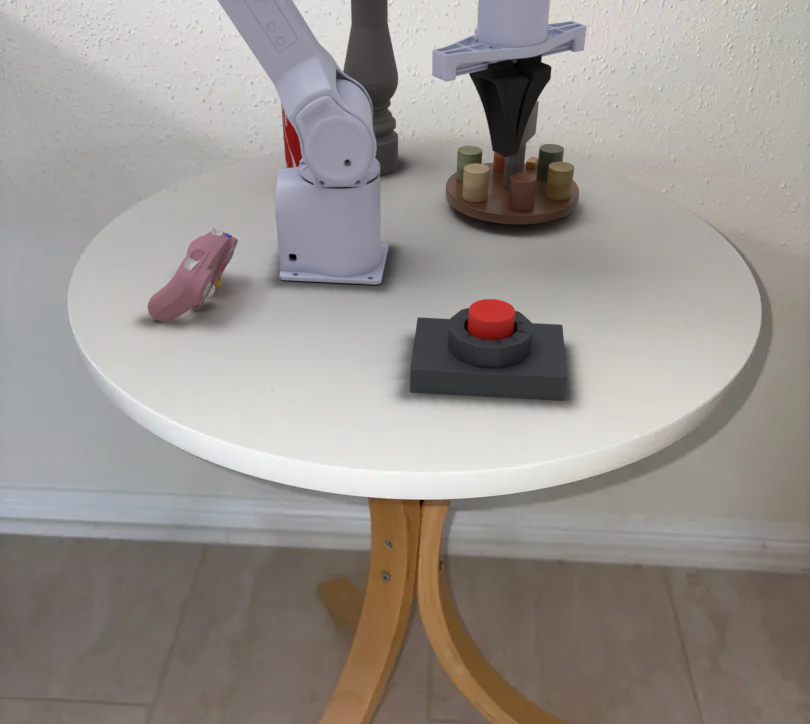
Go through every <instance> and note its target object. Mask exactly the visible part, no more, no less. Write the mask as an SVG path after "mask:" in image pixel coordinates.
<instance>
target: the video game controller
mask: <svg viewBox="0 0 810 724" xmlns="http://www.w3.org/2000/svg"><path fill="white" fill-rule="evenodd" d="M238 241H239V240H238V238H236V237H235V236H232V235H231V234H229V233H228V232H225V231H218V230H216V229H215V227H213V228H212V229H211V231H208V232H207V233H206V234H203V235H202V236H198V237H197V238H195V239H194V240H192V241H191V242H190V243H189V245H188V248H187V251H186V255H185V257H184V259H183V260H182V261H181V263H180V264H179V266H178V268H177V270H176V272H175V274H174V276H173V277H171V279H170V280H169V281H168V283H166V285H164V286H163V287H162V288H160V289H159V290H158V291H156V292H155V293H154V294H153V295H152V296H151V297H150V298H149V301H148V303H147V312H148V314H149V316H150V317H151V318H152V319H154V320H155V321H160V322H166V321H173V320H175V319H177V318H180V317H181V316H183V315H184V314H186V313H187V312H188V311H189V310H191V309H193V310H194V311H196V312H199V311H200V309H201V307H202V306H203V304H204V302H205V301H206V298H208V299H209V298H211V297H213V296H214V294H215V292H216V289H219V288H220V287H221V285H222V280H221V278H222V275H223V273H224V271H225V270H226V268H227V266H228V265H229V264H230V262H231V260H232V259H233V257H234V254H235V250H236V248H237V246H238Z"/></svg>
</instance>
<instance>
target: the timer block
mask: <svg viewBox="0 0 810 724" xmlns="http://www.w3.org/2000/svg"><path fill="white" fill-rule="evenodd" d="M468 314H469V307H467V308H463V309H460V310H459V311H458V312H456V313H455V314H454V315H452V316H451V317H450V318H439V317H438V318H436V317H419V316H418V317H417V318H416V325H415V326H416V327H415V332H414V339H413V340H414V341H413V347H412V355H411V362H410V368H409V393H413V394H429V395H430V394H431V395H432V394H433V395H448V396H469V397H470V396H471V397H485V398H487V397H488V398H504V399H505V398H506V399H520V400H521V399H523V400H539V401H540V400H542V401H556V402H557V401H559V402H563V401H564V400H565V395H566V387H567V382H568V373H567V360H566V349H565V338H564V327H563V326H564V325H563V324H556V323H538V322H532V321H531V320H530V319H529V318H528V317H527V316H525V315H524V314H523V313H522V312H521V311H517V310H515V321H514V331H513V334H512V335H511V336H510V337H508V338H504V339H500V340H484V339H481V338H478V337H475V336H472V335H471V334H470V333H469V332H468Z"/></svg>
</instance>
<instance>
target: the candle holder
mask: <svg viewBox="0 0 810 724" xmlns="http://www.w3.org/2000/svg"><path fill="white" fill-rule="evenodd" d="M388 4H389V0H350V11H351V12H350V16H351V17H350V19H351V21H350V22H351V25H350V30H349V36H348V43H347V47H346V53H345V59H344V65H343V70H342V71H343V72H344V73H345V74H346V75H347V76H349V77H351V78H352V79H354V80H356V81H357V82H359V83H360V84H361V85H362V86H363V87H364V88H365V90H366V91H367V93H368V94H369V96H370V99H371V102H372V106H373V122H372V123H373V132H374V135H375V138H376V146H377V150H376V157H375V158H376V159H377V160H378V161H379V163H380V176H386V175H388V174H391V173H395V172H396V170H397V169H398V168H399V134H398V132H397V131H395V129H396V128H397V120H396V117H394V116H393V113H392V112H391V111H390V109H389V107H391V103H392V101H391V99H392V98H393V97H394V95H395V94H396V92H397V89H398V85H399V71H398V66H397V61H396V58H395V53H394V46H393V43H392V42H393V41H392V38H391V32H390V28H389V27H390V26H389V8H388V7H389V5H388Z"/></svg>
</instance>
